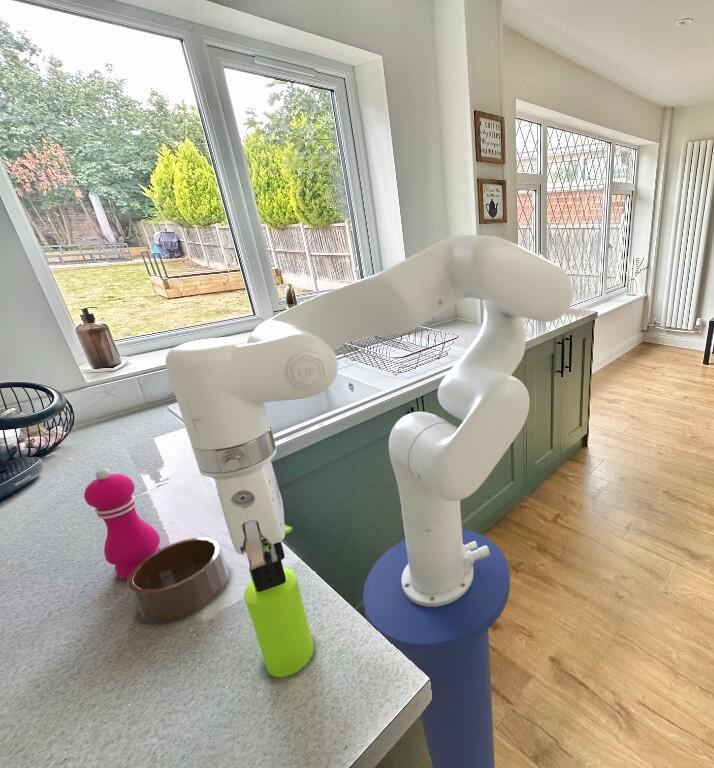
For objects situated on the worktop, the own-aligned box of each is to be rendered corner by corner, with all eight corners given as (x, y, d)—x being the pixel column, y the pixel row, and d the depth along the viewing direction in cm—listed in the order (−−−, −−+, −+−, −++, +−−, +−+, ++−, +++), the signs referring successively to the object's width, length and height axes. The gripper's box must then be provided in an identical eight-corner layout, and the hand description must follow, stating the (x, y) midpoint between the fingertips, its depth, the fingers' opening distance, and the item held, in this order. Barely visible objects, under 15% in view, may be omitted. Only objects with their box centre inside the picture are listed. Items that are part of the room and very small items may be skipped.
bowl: (230, 555, 76) (222, 528, 74) (225, 602, 66) (216, 573, 64) (149, 580, 71) (138, 553, 69) (131, 635, 61) (117, 605, 59)
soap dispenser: (328, 640, 60) (302, 528, 53) (286, 685, 54) (251, 566, 47) (300, 625, 62) (271, 516, 55) (257, 666, 56) (219, 551, 49)
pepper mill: (114, 564, 74) (71, 468, 67) (165, 545, 79) (130, 453, 72) (113, 589, 69) (67, 487, 62) (168, 566, 74) (130, 470, 67)
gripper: (275, 474, 42) (309, 609, 48) (273, 414, 55) (299, 526, 62) (183, 497, 38) (233, 639, 45) (205, 427, 52) (240, 544, 58)
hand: (271, 572), depth 53 cm, fingers closed on soap dispenser, 3 cm apart
